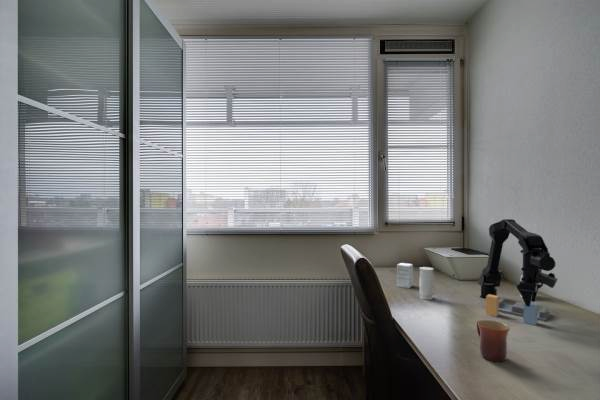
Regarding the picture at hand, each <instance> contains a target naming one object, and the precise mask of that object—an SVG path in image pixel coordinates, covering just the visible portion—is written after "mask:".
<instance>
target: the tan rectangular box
mask: <svg viewBox="0 0 600 400" xmlns="http://www.w3.org/2000/svg"><path fill="white" fill-rule="evenodd" d="M499 299H500V296H499V295H497V296H496V295H490V294H488V295H487V296H486V298H485V315H487V316H492V317H498V316H499V314H500V312H499Z"/></svg>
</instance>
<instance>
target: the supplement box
mask: <svg viewBox="0 0 600 400" xmlns="http://www.w3.org/2000/svg"><path fill="white" fill-rule="evenodd" d="M396 286H397V287H399V288H405V289H411V287H413V286H414V264H413V263H407V262H400V263H397V264H396Z"/></svg>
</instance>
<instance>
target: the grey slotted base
mask: <svg viewBox="0 0 600 400" xmlns="http://www.w3.org/2000/svg"><path fill="white" fill-rule="evenodd" d="M524 303H525V302H521V301H517V302H515V304H507V303H505V298H499V313H504V314H508V315H513V316H517V317H522V318H524ZM550 316H551V312H549V307H547V306H543V307H542V309H540V310H538V321H540V322H547V320H548V319H549V318H550Z"/></svg>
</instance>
